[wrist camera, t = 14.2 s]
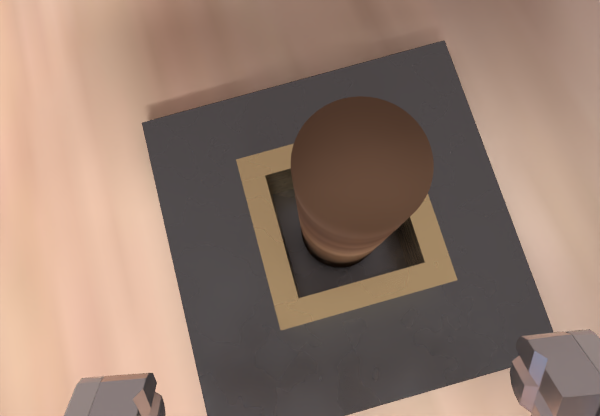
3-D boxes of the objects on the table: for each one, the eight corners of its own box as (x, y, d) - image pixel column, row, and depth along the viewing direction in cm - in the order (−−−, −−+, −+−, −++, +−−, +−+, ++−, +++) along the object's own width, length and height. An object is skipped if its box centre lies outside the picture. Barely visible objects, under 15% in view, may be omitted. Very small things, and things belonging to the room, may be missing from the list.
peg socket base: (550, 350, 22) (608, 362, 18) (220, 446, 22) (196, 481, 18) (439, 50, 26) (465, -3, 21) (148, 129, 25) (113, 92, 21)
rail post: (386, 256, 23) (453, 211, 12) (313, 276, 22) (312, 250, 12) (364, 184, 23) (407, 80, 13) (292, 204, 23) (274, 117, 12)
